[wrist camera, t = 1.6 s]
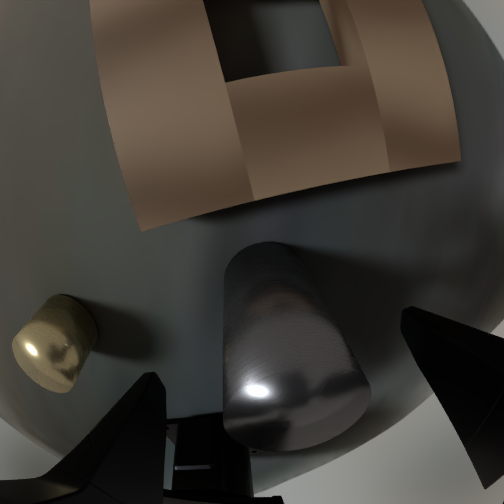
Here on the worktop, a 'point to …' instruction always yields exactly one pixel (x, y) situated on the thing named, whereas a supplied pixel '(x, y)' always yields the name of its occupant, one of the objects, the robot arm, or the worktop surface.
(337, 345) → the tall pin
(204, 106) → the hole plate
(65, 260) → the worktop surface
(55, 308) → the short pin
